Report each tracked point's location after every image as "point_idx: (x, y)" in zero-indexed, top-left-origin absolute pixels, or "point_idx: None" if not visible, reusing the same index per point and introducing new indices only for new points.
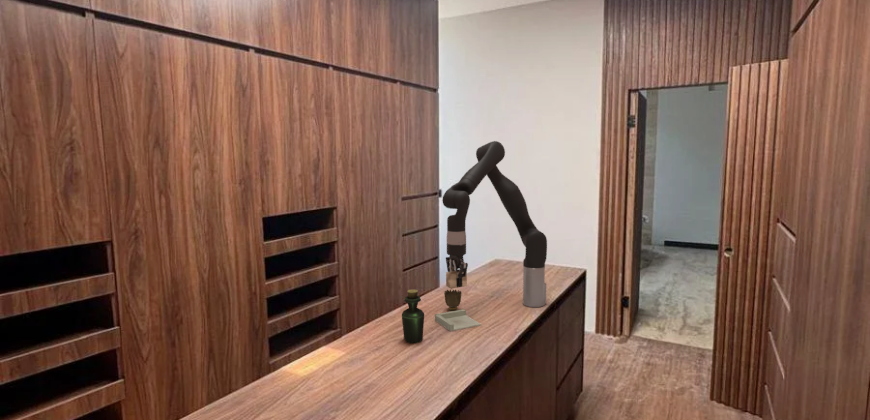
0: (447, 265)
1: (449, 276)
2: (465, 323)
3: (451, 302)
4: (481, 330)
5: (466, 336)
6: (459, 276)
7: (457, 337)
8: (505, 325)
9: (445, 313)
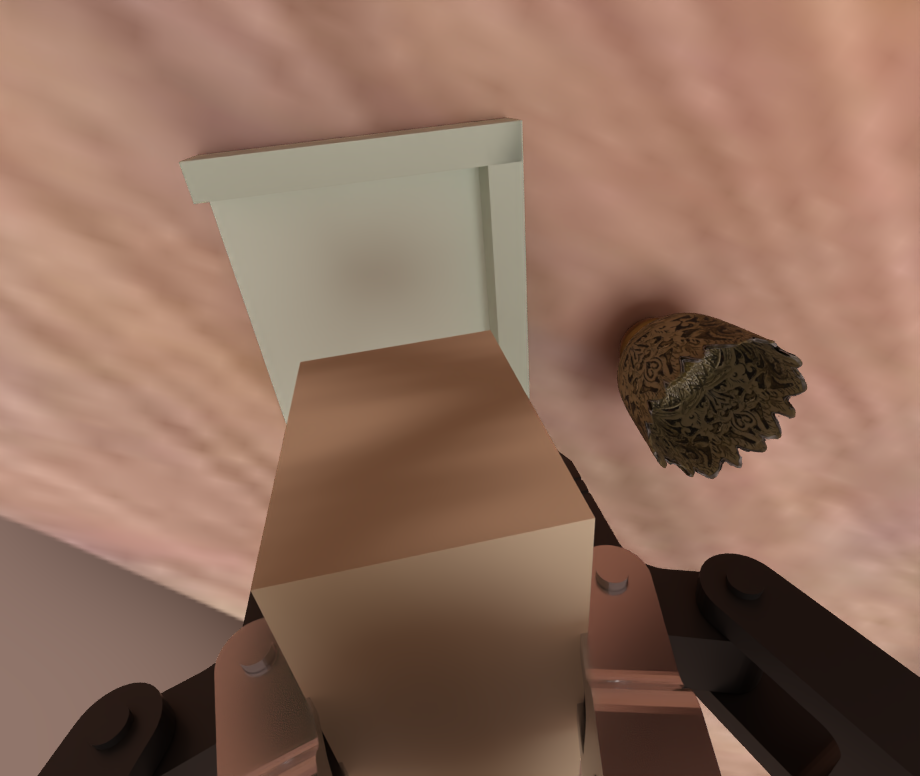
0: (902, 714)
1: (359, 505)
2: (326, 332)
3: (641, 350)
4: (185, 393)
5: (57, 249)
6: (101, 713)
7: (32, 164)
8: (252, 537)
9: (500, 232)
